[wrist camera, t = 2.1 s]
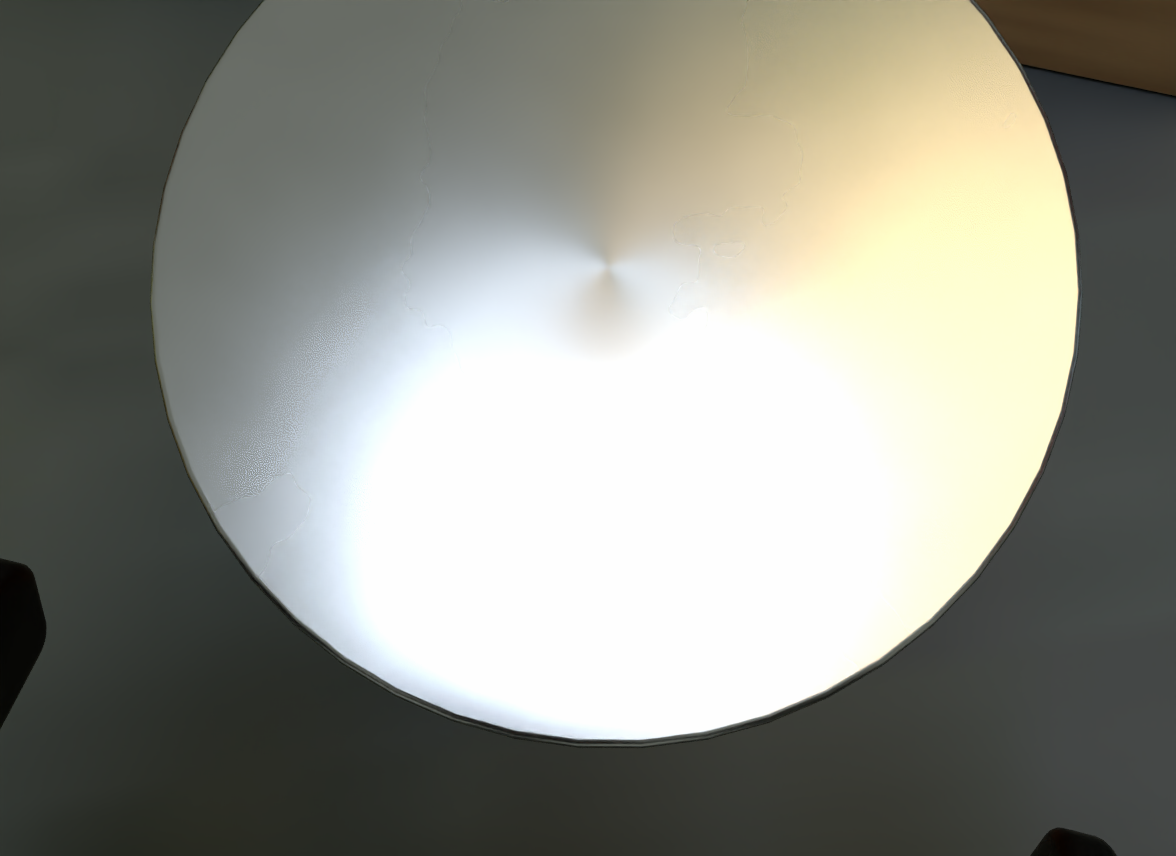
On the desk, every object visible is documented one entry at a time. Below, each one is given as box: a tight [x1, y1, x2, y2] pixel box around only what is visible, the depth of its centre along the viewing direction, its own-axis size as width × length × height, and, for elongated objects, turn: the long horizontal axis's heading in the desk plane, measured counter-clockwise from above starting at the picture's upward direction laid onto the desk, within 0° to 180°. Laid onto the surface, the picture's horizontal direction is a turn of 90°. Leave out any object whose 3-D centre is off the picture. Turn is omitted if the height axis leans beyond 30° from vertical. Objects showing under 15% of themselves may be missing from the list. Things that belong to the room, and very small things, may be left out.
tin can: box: [150, 0, 1083, 748], centre depth 14 cm, size 7×7×13 cm
